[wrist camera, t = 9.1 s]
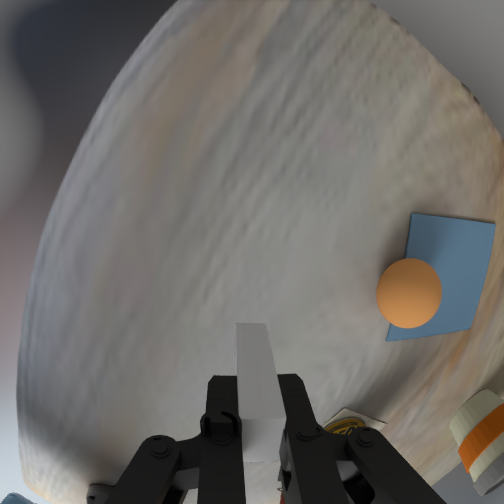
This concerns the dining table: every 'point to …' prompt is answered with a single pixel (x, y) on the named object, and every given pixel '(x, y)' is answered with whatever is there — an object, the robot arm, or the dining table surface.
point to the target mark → (449, 269)
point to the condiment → (350, 422)
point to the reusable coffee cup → (481, 439)
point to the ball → (409, 293)
